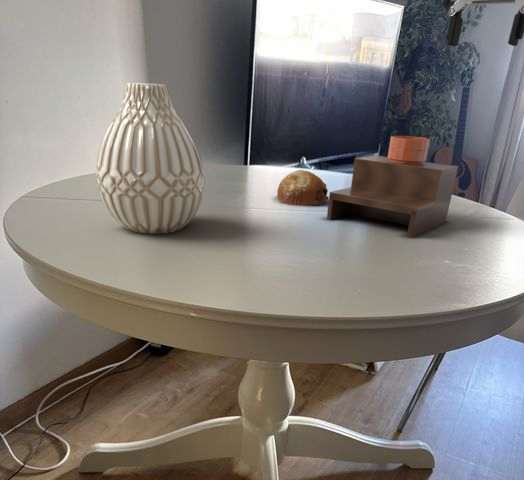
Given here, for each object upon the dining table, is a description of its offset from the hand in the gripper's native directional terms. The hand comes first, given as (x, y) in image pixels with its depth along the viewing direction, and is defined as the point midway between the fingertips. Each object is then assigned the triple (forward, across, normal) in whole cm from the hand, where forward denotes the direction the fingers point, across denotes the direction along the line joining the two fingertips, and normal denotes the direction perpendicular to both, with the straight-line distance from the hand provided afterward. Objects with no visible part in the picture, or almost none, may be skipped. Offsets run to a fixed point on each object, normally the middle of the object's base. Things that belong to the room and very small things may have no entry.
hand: (481, 45), depth 79 cm
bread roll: (+28, +26, +10) cm, 40 cm away
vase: (+28, +30, +46) cm, 62 cm away
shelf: (+28, +6, +12) cm, 31 cm away
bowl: (+18, +6, +8) cm, 21 cm away
